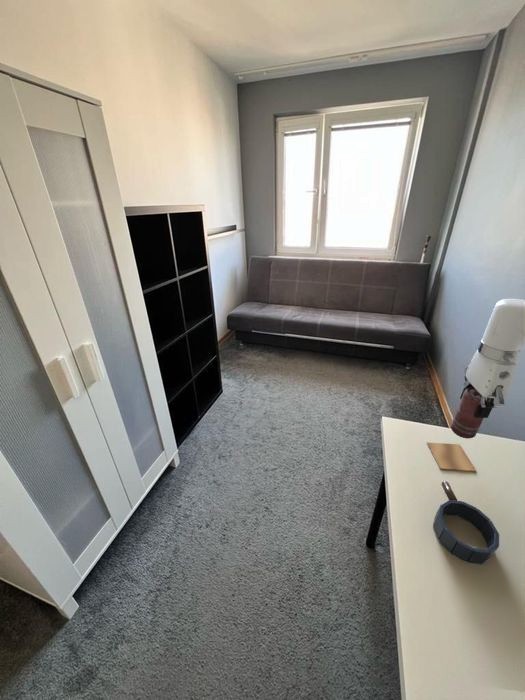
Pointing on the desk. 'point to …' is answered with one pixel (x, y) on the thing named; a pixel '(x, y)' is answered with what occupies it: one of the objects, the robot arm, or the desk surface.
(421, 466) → the desk surface
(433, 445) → the coaster
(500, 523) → the desk surface
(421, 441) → the desk surface
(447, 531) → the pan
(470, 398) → the can
